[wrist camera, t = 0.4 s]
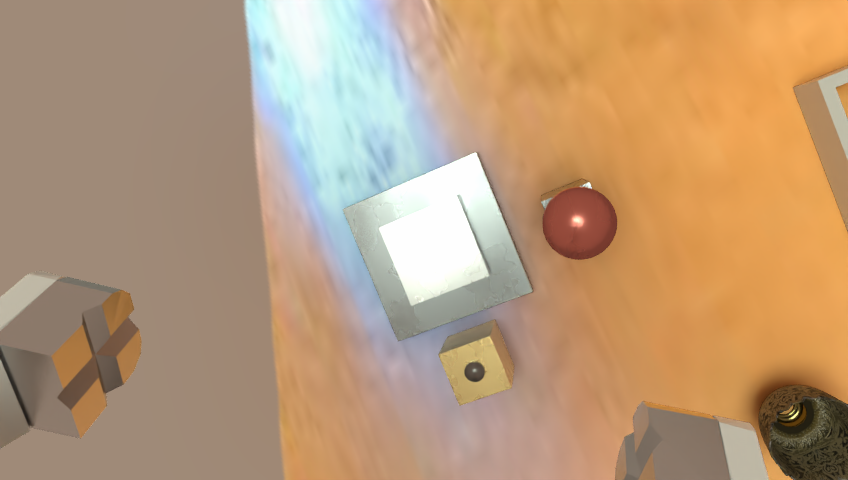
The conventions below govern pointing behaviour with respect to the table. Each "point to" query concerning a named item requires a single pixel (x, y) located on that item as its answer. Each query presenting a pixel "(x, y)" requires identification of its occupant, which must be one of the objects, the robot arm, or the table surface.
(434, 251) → the press
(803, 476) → the cup
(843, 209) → the parts tray
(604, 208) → the plunger
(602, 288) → the table surface
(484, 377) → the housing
